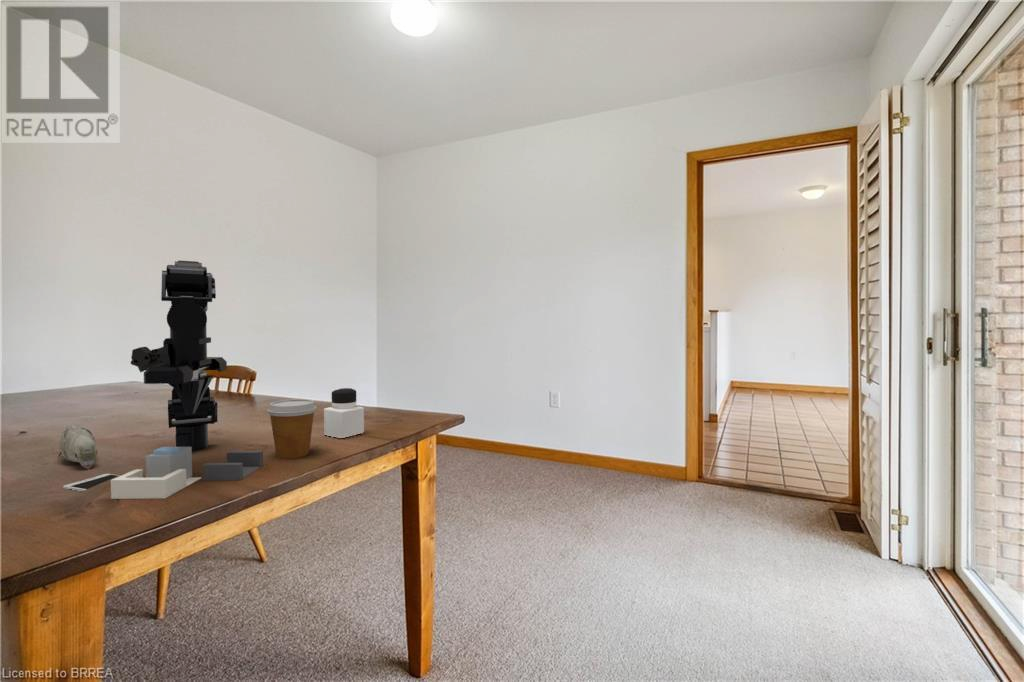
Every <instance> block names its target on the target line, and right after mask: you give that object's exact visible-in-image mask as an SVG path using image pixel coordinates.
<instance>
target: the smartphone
mask: <svg viewBox="0 0 1024 682" xmlns="http://www.w3.org/2000/svg"><path fill="white" fill-rule="evenodd" d="M119 476H121V475H118V474H112V473H103V474H100V475H96V476H94V477H93V476H92V477H89V478H86V479H83V480H79V481H75V482H72V483H68V484H65V485H63V486H62V487H63V488H65V489H64V490H68V489H72V490H71V491H74V490H77V491H76V492H80V491H82V492H84V491H86V490H88V489H91V488H93V487H96V486H98V485H101V484H103V483H105V482H107V481H111V480H112V479H115V478H117V477H119ZM63 488H62V489H63Z"/></svg>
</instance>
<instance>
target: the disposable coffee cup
mask: <svg viewBox="0 0 1024 682" xmlns="http://www.w3.org/2000/svg"><path fill="white" fill-rule="evenodd" d="M316 409H317V406H316V405H315V402H314V400H312V399H307V398H306V399H304V398H302V399H301V398H300V399H299V398H297V399H285V400H284V399H283V400H277V401H272V402H270V403H269V408H268V409H267V412H268V415H269V417H270V424H271V429H272V431H271V432H272V436H273V444H274V449H275V456H276V458H278V459H297V458H302V457H305V456H307V455H309V454H310V448H311V441H312V440H311V438H312V430H313V423H314V414H315V412H316Z"/></svg>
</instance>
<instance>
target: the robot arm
mask: <svg viewBox="0 0 1024 682" xmlns="http://www.w3.org/2000/svg"><path fill="white" fill-rule="evenodd" d="M216 291H217V290H216V279H215V278H214V277H213V273H212V272H208V269H207V267H206V266H203V263H202V262H199V261H194V260H193V261H192V260H180V259H179V260H176V261H174V264H167V265H166V270H161V297H160V299H161V301H162V302H170V303H171V305H170V307H169V310H168V312H167V314H166V323H167V325H168V327H169V337H168V338H166V337H165V339H164V340H163V342H162V345H163V346H162V347H158V348H153V349H150V348H149V347H148V346H139V347H137V348H134V349H132V350H131V352H132V353H131V356H130V357H131V361H130V364H131V366H134V367H137V368H138V371H139V373H143V384H146V385H148V384H149V385H155V384H156V385H163V384H164V385H165V384H166V385H169V386H170V387H172V390H171V399H167V421H168V429H172V428H175V436H174V437H175V439H174V440H175V447H192V453H193V452H196V451H201V450H205V449H207V448H208V446H209V430H208V429H209V428H208V427H209V426H208V425H214V424H215V423H218V421H219V420H218V402H217V401H216V400H215V399H214V396H211V389H210V387H209V385H210V383H211V382H212V380H213V379H214V377H215V376H214V375H211V374H210V375H207V371H217V372H219V373H220V372H221V373H222V372H225V371H228V364H227V363H228V362H227V360H226V359H224V357H223V356H208V349H207V348H208V345H207V344H210V343H212V337H209V336H207V334H208V333H207V322H208V316H207V311H208V309H209V308H208V306H209V305H208V303H213V299H216V293H217V292H216Z"/></svg>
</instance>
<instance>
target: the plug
mask: <svg viewBox="0 0 1024 682" xmlns="http://www.w3.org/2000/svg"><path fill="white" fill-rule="evenodd" d="M152 452H153V453H150V454H148V455H145V478H149V477H164V476H166V475H168V474H170V473H172V472H174V471H176V470H178V469H186V479H188V478H193V452H192V447H176V446H161V447H159V448H157V449H154V450H153V451H152Z"/></svg>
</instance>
